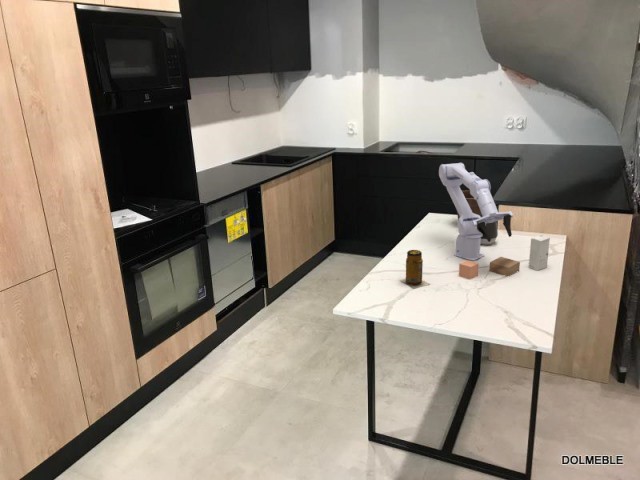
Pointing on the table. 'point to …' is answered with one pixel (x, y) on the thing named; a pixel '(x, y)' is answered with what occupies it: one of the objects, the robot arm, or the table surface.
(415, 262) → the condiment
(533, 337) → the table surface
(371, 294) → the table surface
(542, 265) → the skincare box
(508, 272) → the walnut block
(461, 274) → the terracotta cube
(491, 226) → the dark grey rounded figure
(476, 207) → the plant pot
